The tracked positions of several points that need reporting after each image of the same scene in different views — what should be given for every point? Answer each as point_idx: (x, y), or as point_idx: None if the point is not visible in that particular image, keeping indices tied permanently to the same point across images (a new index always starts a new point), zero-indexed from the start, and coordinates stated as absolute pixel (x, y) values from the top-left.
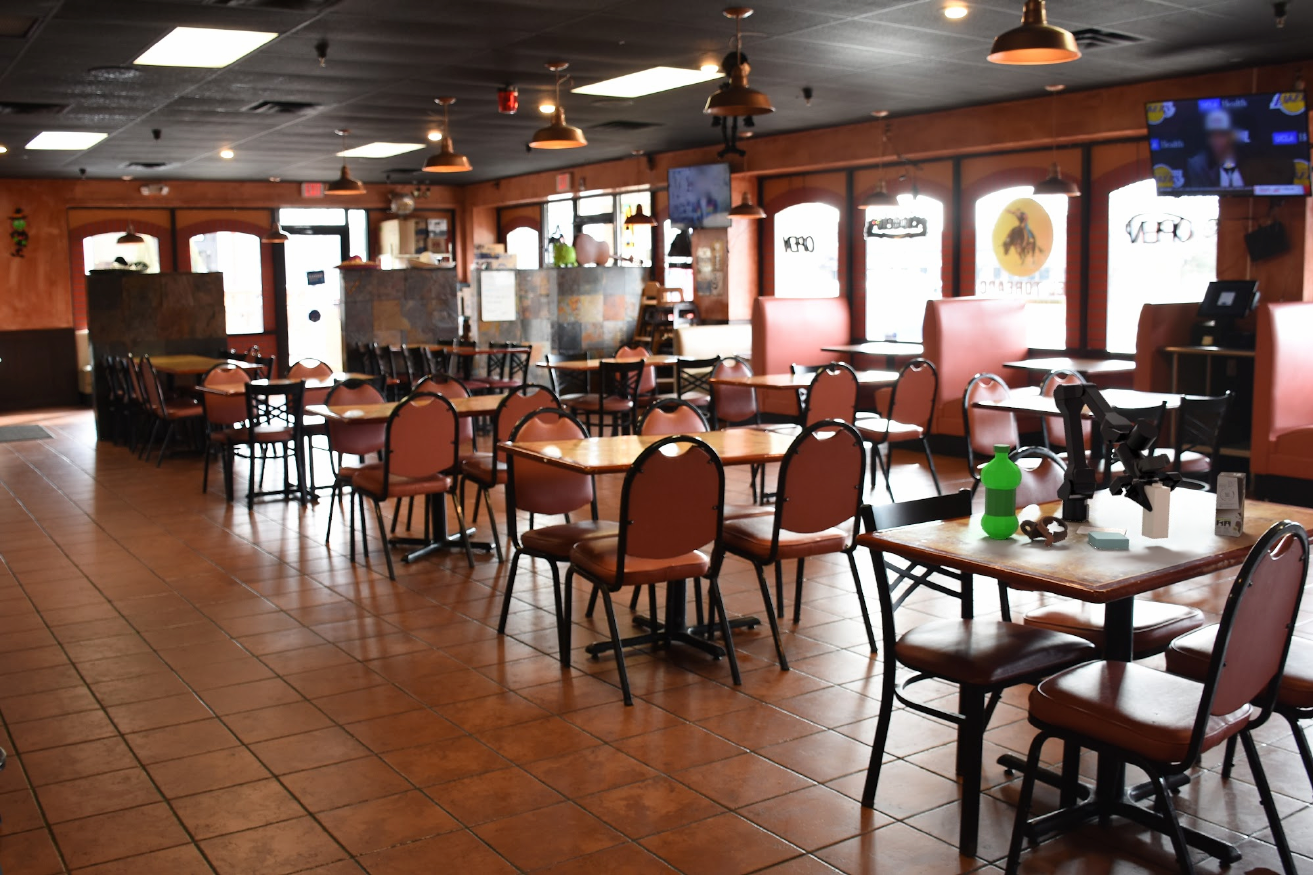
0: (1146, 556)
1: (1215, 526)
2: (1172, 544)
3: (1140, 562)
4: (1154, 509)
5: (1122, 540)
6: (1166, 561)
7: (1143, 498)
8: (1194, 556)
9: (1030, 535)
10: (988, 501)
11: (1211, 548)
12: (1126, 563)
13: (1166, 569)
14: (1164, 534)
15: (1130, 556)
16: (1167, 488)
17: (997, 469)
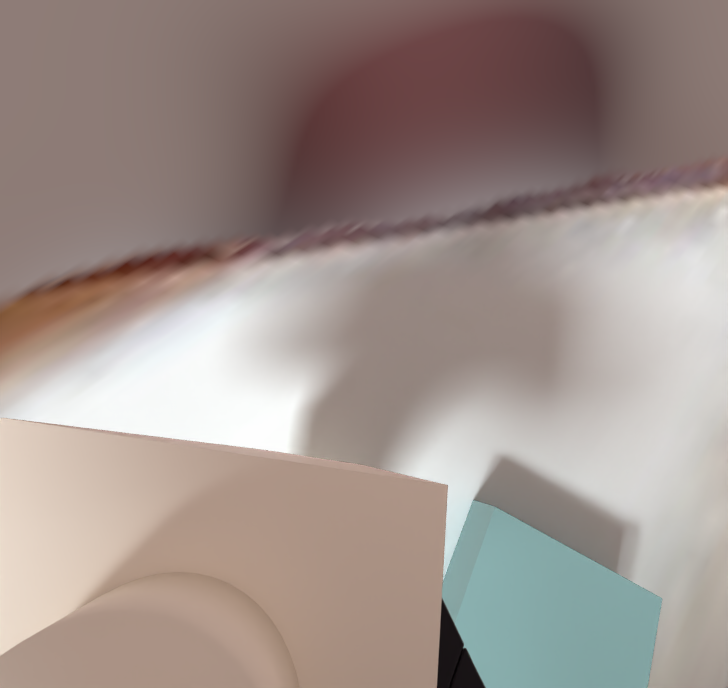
0: (495, 353)
1: None
2: None
3: (575, 295)
4: (380, 469)
5: (523, 523)
6: (479, 267)
7: (468, 661)
8: (326, 274)
9: None
10: None
11: (132, 340)
12: (631, 306)
13: (552, 198)
14: (287, 453)
15: (554, 382)
16: (94, 432)
17: None
